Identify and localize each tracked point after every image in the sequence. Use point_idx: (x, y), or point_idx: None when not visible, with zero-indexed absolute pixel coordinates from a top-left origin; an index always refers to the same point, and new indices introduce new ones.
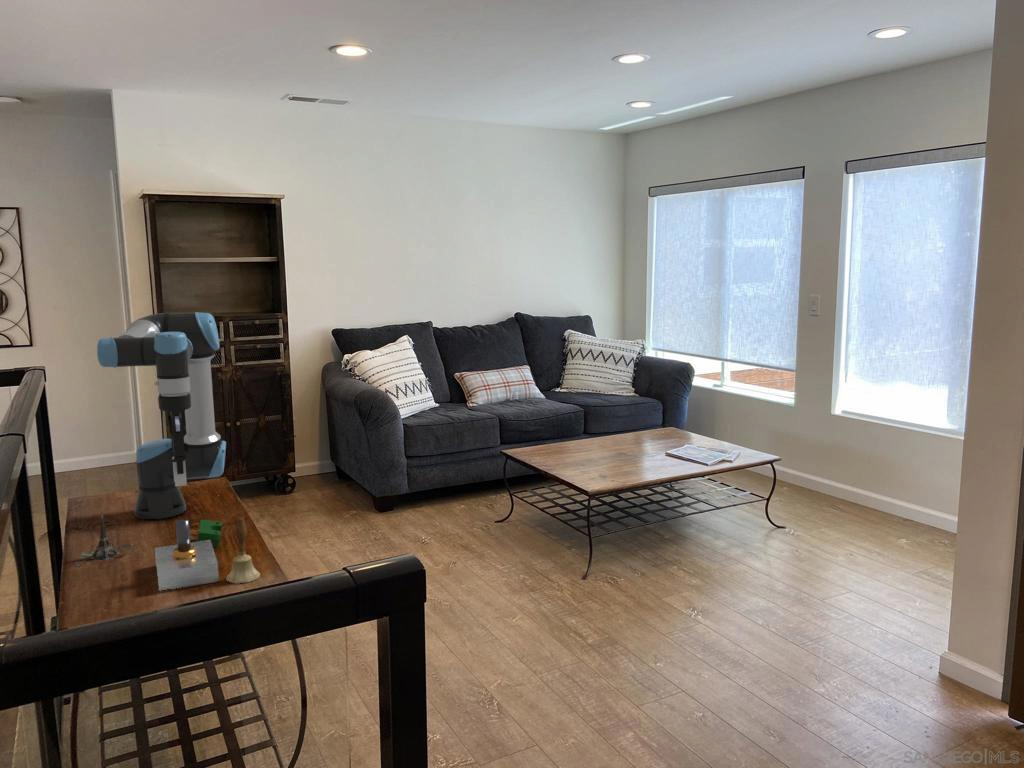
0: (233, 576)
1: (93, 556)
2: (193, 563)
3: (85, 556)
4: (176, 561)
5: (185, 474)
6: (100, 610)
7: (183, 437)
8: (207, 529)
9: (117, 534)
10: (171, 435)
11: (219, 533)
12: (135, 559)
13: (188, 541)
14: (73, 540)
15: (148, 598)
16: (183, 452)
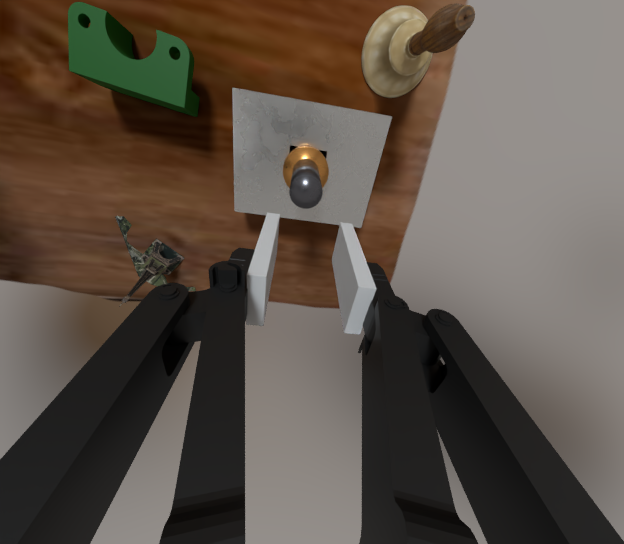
0: (407, 84)
1: (168, 272)
2: (360, 164)
3: (159, 279)
4: (329, 190)
5: (360, 248)
6: None
7: (599, 514)
8: (153, 74)
9: (53, 229)
10: (133, 456)
11: (178, 43)
12: (198, 222)
13: (317, 169)
14: (77, 285)
15: (369, 231)
16: (480, 361)
